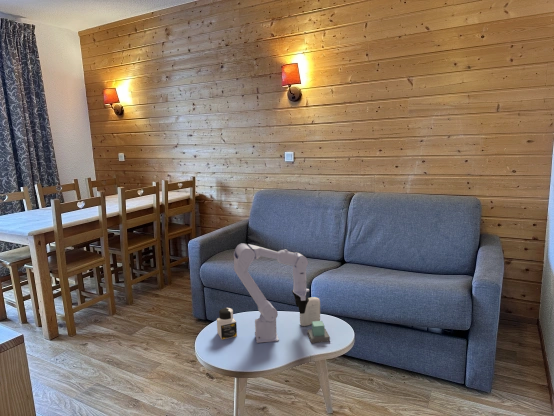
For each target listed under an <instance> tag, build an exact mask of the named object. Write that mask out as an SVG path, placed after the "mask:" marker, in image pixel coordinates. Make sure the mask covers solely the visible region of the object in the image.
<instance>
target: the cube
mask: <svg viewBox="0 0 554 416" xmlns="http://www.w3.org/2000/svg"><path fill="white" fill-rule="evenodd" d="M324 328H325V324H324V322H323V320H320V321H314V322H312V324H311V329H312V332H313V334H314V336H322V335H325V330H324Z"/></svg>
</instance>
